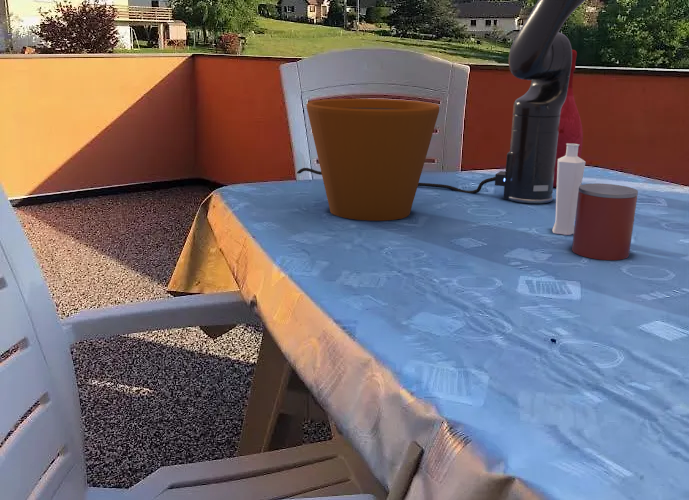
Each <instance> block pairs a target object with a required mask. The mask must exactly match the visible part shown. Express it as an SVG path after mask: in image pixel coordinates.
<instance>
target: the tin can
mask: <svg viewBox="0 0 689 500" xmlns="http://www.w3.org/2000/svg"><path fill="white" fill-rule="evenodd" d="M638 194H639V190H637V189H635V188H634V187H630V186H625V185H620V184H612V183H584V184H581V185H580V186H579V191H578V199H577V208H576V216H575V221H574V234H572V235H573V237H572V245H571V251H572V252H573V253H574V254H576V255H578V256H581V257H584V258H588V259H592V260H600V261H619V260H620V261H621V260H626V259H628V258H629V257H630V253H631V246H632V238H633V230H634V224H635V216H636V208H637V202H638Z"/></svg>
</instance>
